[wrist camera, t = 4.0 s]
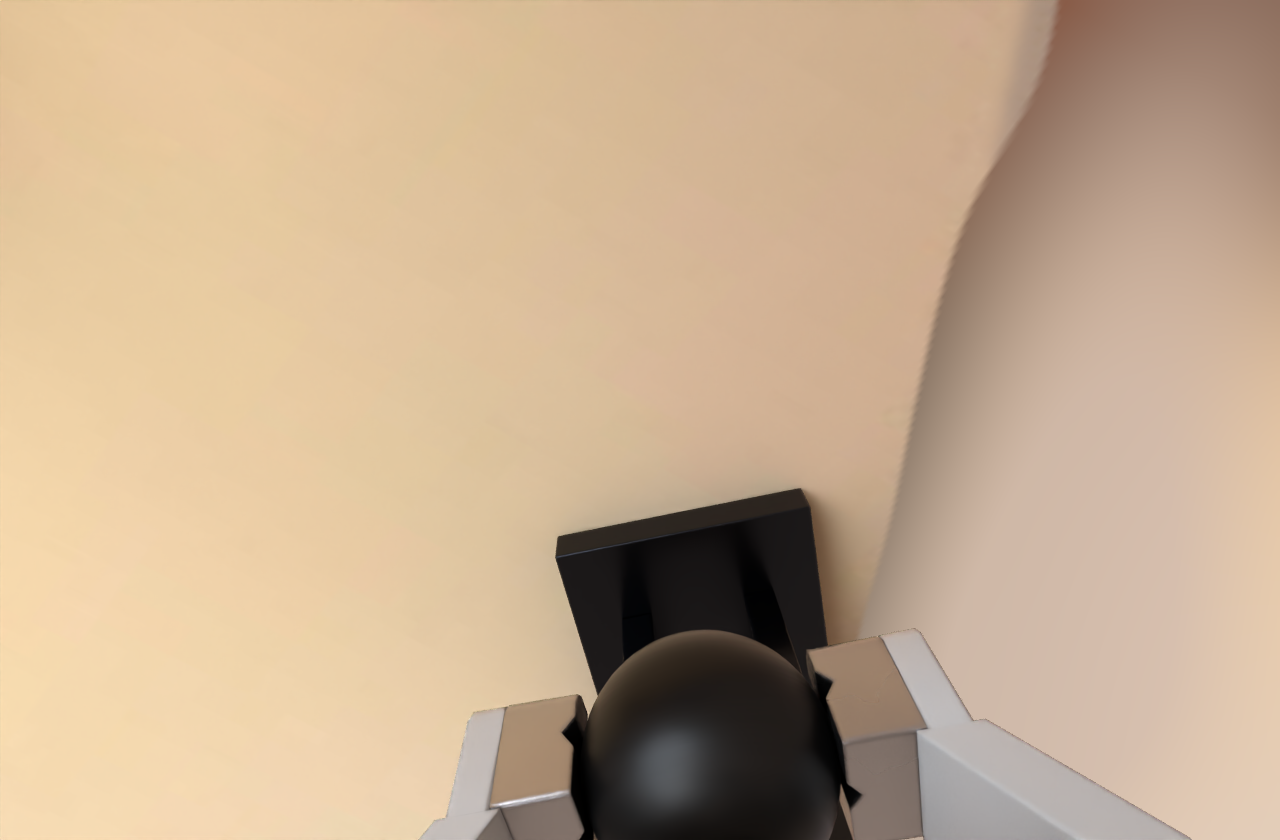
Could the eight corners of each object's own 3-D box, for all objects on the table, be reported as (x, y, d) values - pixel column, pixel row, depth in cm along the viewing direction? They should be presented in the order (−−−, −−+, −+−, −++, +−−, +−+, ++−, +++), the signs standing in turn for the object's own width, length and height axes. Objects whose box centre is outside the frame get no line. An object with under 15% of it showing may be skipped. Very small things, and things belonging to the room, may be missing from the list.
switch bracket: (556, 535, 23) (508, 972, 12) (800, 487, 23) (1000, 886, 11) (622, 752, 28) (634, 1235, 16) (830, 714, 27) (999, 1179, 16)
